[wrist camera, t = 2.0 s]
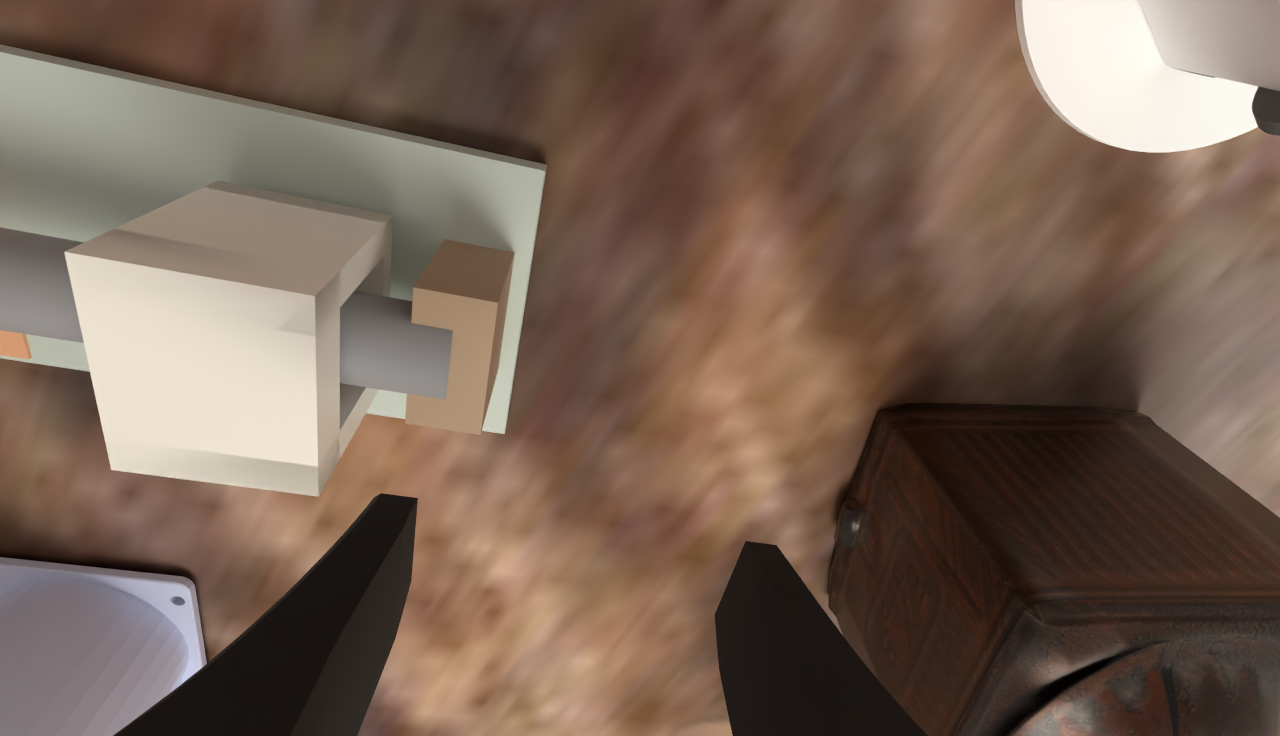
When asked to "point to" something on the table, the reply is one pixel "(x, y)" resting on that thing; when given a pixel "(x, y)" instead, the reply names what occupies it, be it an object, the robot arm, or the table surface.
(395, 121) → the table surface
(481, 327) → the rail
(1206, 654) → the dark brown knobbed piece
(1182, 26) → the white bent post
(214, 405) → the collar
